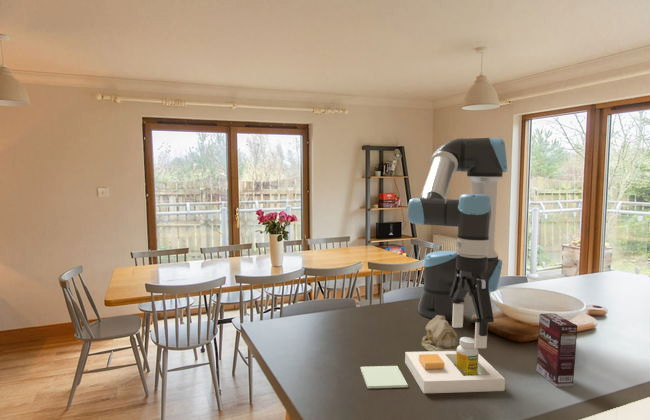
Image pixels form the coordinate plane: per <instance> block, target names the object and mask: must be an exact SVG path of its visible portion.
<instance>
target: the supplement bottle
mask: <svg viewBox="0 0 650 420" xmlns="http://www.w3.org/2000/svg"><path fill="white" fill-rule="evenodd" d="M474 342H475V338H473V337H469V336H462V337H460V338H459V345H457V346H458V347H457V352H456V365H455V367H456V368H457V369H458V370H459V371H460V372H461V374H462V375H463V376H478V373H477V372H478V353H479V350H478V349H479V348H475V347H474Z"/></svg>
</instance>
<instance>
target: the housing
mask: <svg viewBox="0 0 650 420" xmlns="http://www.w3.org/2000/svg"><path fill="white" fill-rule="evenodd" d="M456 352H457V351H427V350H426V351H405V352H404V353H405V354H404V355H405V356H404V358H405V359H404V363H405V365H406V367H407V368H408V370H409V371H410V373H411V375H412V377H413V378H414V380H415V381H416V383H417V385H418V386H419V388H420V390H421V391H422V393H423V394H443V393H444V394H447V393H448V394H450V393H452V394H453V393H477V392H478V393H479V392H480V393H481V392H484V393H485V392H505V389H506V388H505V387H506V386H505V385H506V378H505V377H503V375H502V374H501V373H499V371H498V370H497V369H495V368H494V367H493V365H491V364H490V363H489V362H488V361H487V360H486V359H485V358H484V357H483V356H482V355H481V354H480V353H479V352H478V372H477V376H463V375H462V374H461V372H460V371H459V370H458V369H457V368H456ZM419 354H438V355H439V357H440V358H441V359H442V360H443V362H444V363H445V364H444V369H425V368H424V367H423V366H422V364H421V363H420V361H419Z"/></svg>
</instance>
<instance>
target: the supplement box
mask: <svg viewBox="0 0 650 420" xmlns="http://www.w3.org/2000/svg"><path fill="white" fill-rule="evenodd" d="M538 320H539V321H538V322H539V324H538V339H537V353H536V354H537V355H536V369H535V370H536V372H538V373H539V374H540V375H541V376H543V377H544V378H545V379H546V380H548V381H549V382H550V383H551V384H553V386H554V387H556V388H557V387H558V388H561V387H563V388H565V387H573V386H574V377H575V363H576V350H577V349H576V348H577V337H578V336H577V335H578V324H576V323H573V322H572V321H569V320H567V319H566V318H564V317H563V316H560V315H558V314H557V313H555V312H554V313H552V312H551V313H539V319H538Z"/></svg>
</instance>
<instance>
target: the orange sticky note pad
mask: <svg viewBox="0 0 650 420" xmlns="http://www.w3.org/2000/svg"><path fill="white" fill-rule="evenodd" d="M419 361H420V363H421V364H422V366H423V367H424V368H425V369H444V364H445V363H444V362H443V360H442V359H441V358H440V357H439V355H438V354H419Z"/></svg>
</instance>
